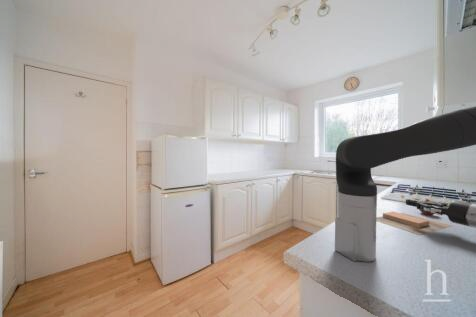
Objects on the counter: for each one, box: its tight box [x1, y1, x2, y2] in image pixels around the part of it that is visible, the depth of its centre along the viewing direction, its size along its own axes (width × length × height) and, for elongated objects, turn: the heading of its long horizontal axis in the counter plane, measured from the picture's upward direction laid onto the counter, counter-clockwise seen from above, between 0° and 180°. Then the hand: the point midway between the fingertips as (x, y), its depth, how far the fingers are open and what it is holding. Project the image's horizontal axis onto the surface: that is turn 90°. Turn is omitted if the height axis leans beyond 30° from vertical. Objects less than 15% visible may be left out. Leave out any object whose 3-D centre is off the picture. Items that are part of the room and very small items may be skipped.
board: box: [376, 212, 453, 236], centre depth 72 cm, size 22×16×1 cm
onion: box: [419, 198, 436, 216], centre depth 81 cm, size 6×6×8 cm
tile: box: [382, 211, 429, 228], centre depth 73 cm, size 7×2×12 cm
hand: (406, 201), depth 72 cm, fingers closed
